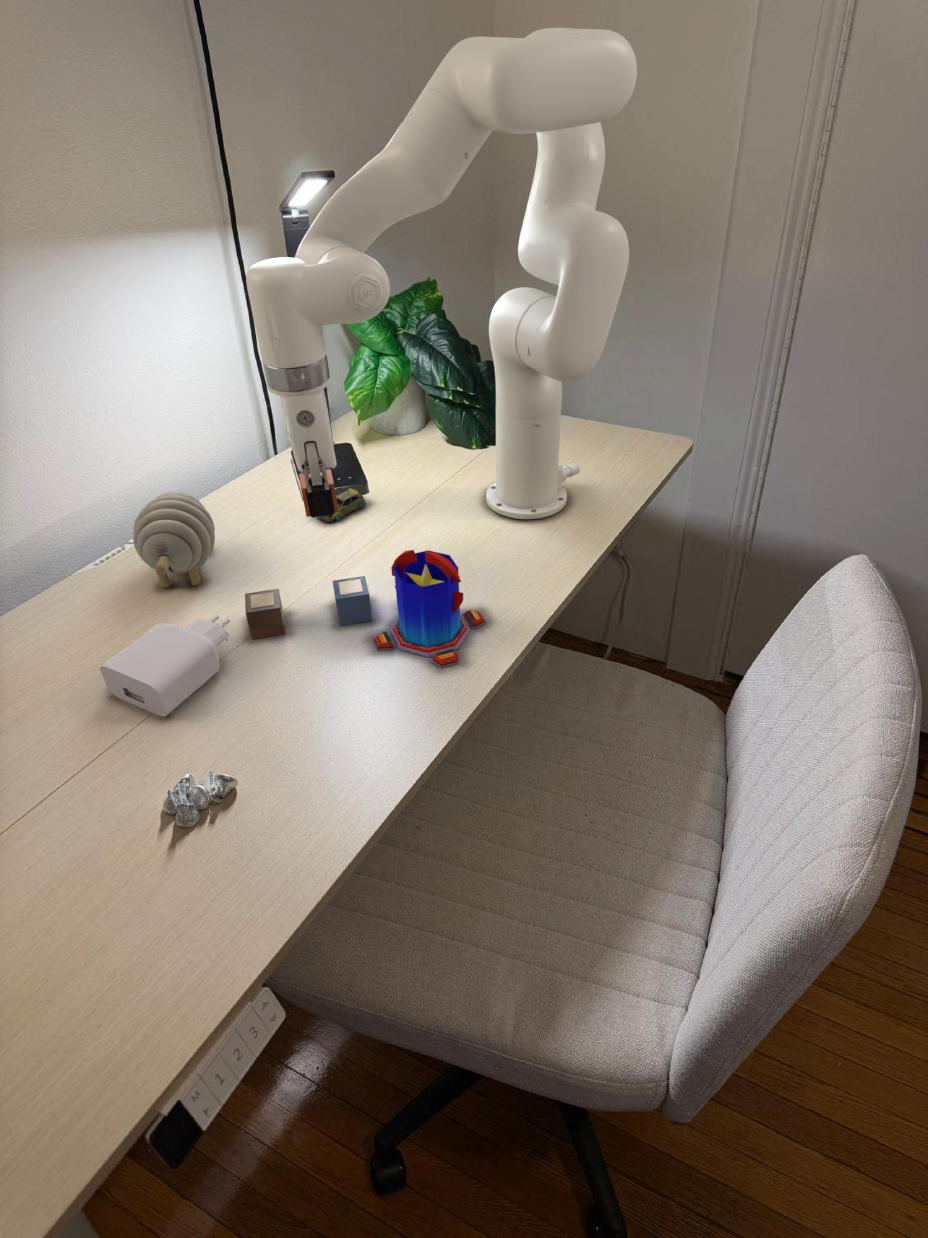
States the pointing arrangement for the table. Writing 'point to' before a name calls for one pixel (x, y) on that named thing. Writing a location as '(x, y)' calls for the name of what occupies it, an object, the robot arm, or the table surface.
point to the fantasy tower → (428, 608)
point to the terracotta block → (303, 487)
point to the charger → (165, 665)
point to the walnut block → (264, 614)
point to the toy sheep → (174, 536)
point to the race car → (345, 504)
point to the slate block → (352, 600)
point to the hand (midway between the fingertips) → (320, 504)
